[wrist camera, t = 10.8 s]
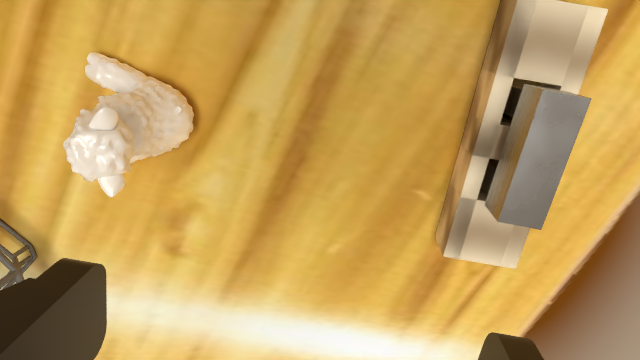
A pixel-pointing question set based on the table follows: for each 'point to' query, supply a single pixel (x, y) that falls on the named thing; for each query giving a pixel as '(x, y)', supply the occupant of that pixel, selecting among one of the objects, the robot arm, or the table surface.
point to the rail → (491, 130)
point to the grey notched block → (533, 153)
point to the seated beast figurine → (125, 123)
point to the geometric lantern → (15, 260)
